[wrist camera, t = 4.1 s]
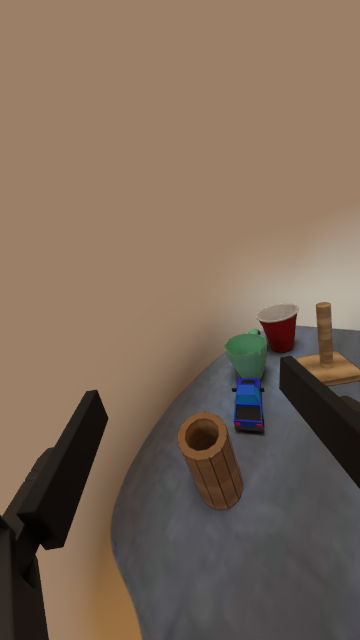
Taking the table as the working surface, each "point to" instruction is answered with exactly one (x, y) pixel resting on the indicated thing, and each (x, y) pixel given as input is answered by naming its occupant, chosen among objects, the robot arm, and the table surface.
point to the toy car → (248, 405)
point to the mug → (248, 354)
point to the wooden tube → (211, 459)
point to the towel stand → (328, 354)
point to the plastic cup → (279, 325)
